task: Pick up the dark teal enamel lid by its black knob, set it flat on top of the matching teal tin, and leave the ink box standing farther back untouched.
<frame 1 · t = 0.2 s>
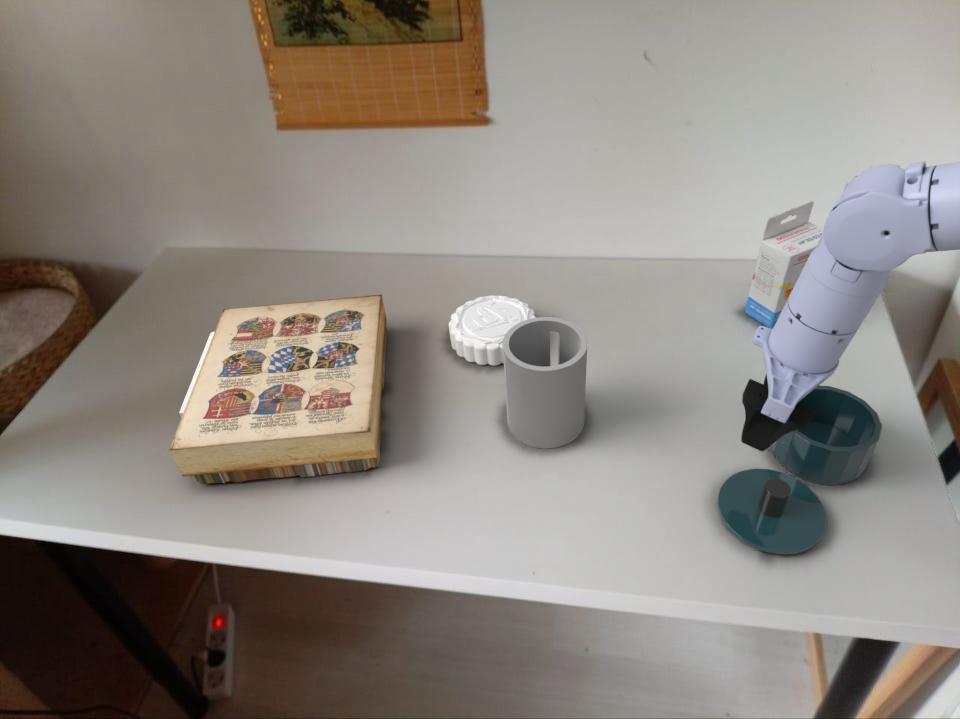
hand: (763, 417, 65), 11 cm above the table, tool pointing down, fingers open, 7 cm apart
ink box: (779, 312, 94), on the table
mooncake: (493, 339, 94), on the table
cup: (545, 421, 82), on the table
book: (290, 397, 88), on the table
tin: (817, 450, 75), on the table
tin lid: (770, 510, 69), point 1 cm above the table
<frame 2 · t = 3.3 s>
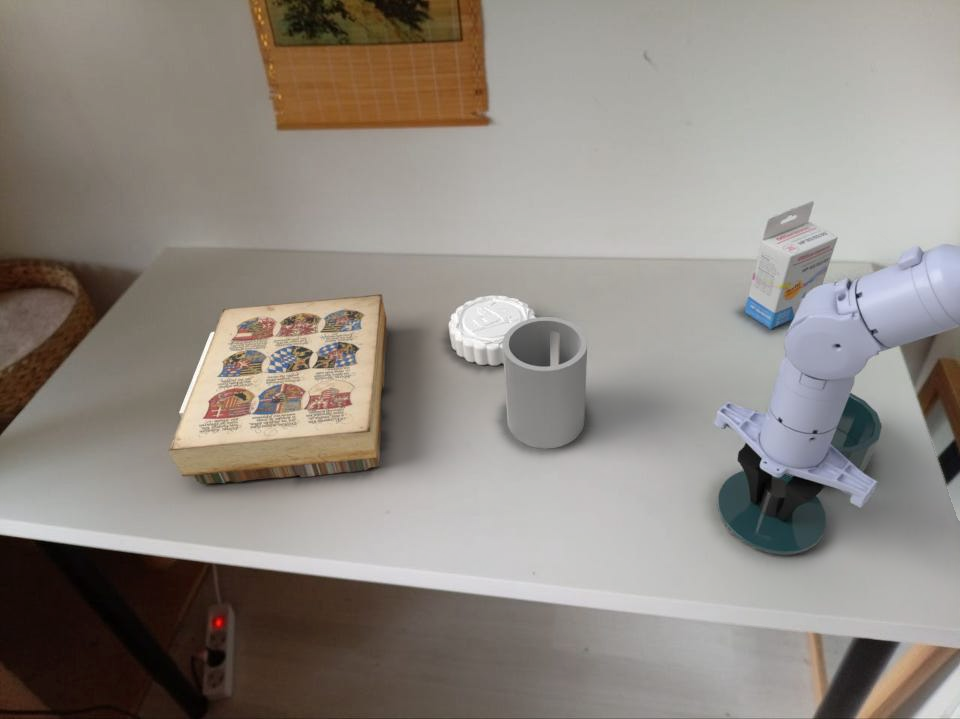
hand: (771, 505, 68), 1 cm above the table, tool pointing down, fingers closed on tin lid, 2 cm apart
tin lid: (770, 510, 69), point 1 cm above the table, touching gripper
everything else where it was.
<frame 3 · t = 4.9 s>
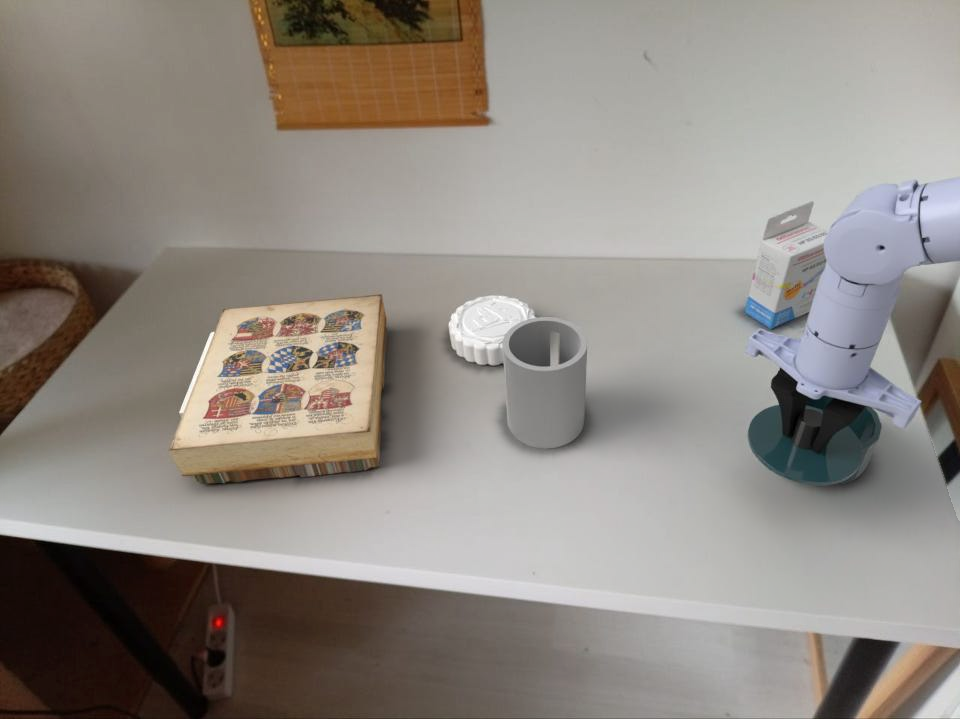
hand: (804, 438, 66), 8 cm above the table, tool pointing down, fingers closed on tin lid, 2 cm apart
tin lid: (803, 444, 66), point 8 cm above the table, touching gripper
everything else where it was.
when the fingers open (6 cm above the table, at t = 6.7 s): tin lid stays where it is, resting on tin.
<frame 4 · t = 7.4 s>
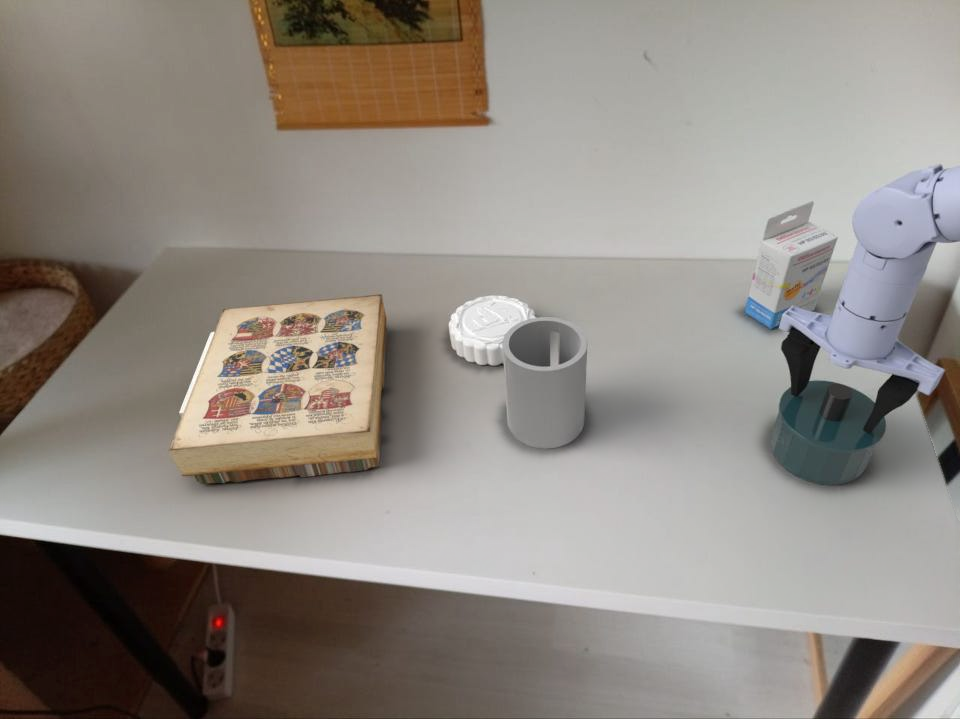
hand: (833, 408, 71), 7 cm above the table, tool pointing down, fingers open, 7 cm apart
tin lid: (830, 416, 71), point 5 cm above the table, touching tin
everything else where it was.
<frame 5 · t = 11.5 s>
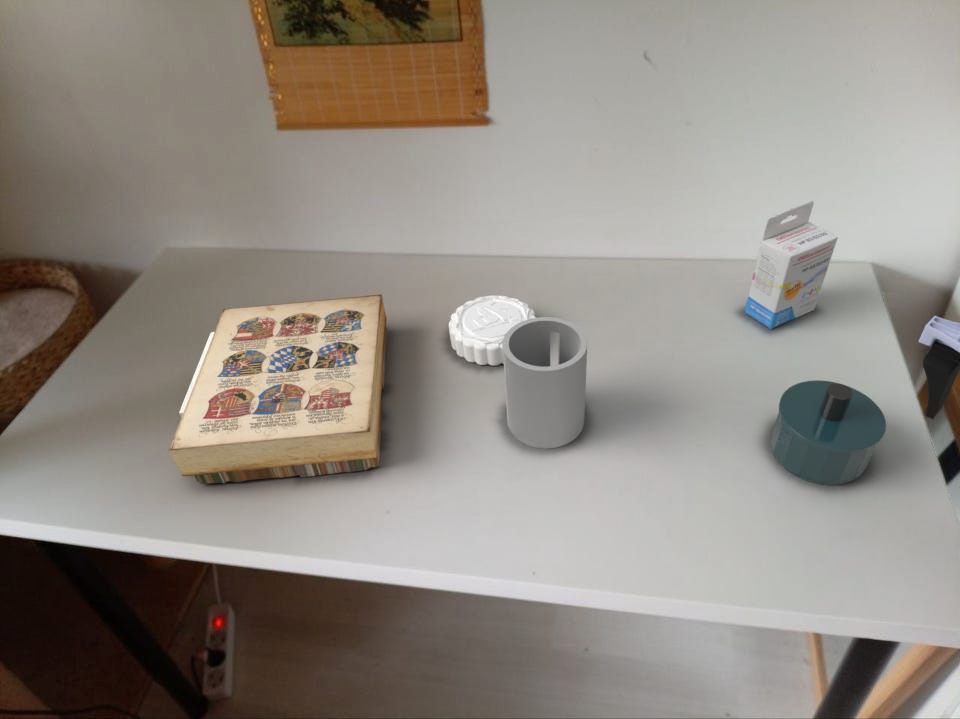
nothing on the table moved.
at the end: tin lid 0.0 cm off-centre on the tin, point 5.4 cm above the tin's base; tin lid tilted 0°; ink box moved 0.2 cm from its start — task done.
